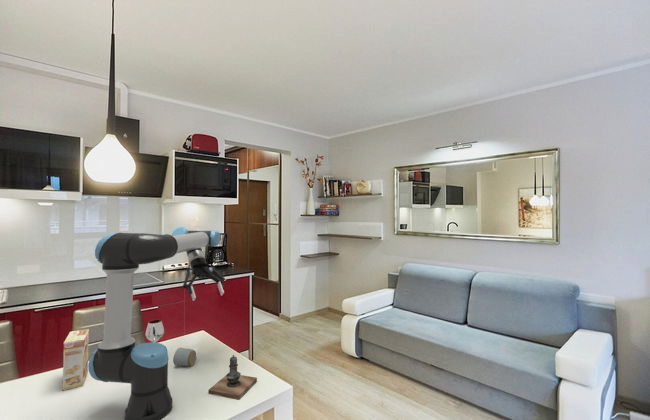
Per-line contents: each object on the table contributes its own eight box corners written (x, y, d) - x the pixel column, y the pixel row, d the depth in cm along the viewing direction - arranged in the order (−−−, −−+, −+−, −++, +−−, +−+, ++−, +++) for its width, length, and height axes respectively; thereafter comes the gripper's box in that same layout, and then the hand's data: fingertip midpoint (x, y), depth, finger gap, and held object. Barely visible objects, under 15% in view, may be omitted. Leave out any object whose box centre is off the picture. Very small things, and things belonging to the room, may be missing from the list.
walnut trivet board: (239, 399, 121) (239, 395, 121) (208, 393, 125) (208, 389, 125) (256, 381, 134) (256, 377, 134) (228, 376, 138) (228, 372, 138)
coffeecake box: (83, 386, 130) (84, 339, 130) (61, 391, 126) (62, 343, 127) (88, 371, 143) (89, 328, 143) (69, 375, 139) (69, 331, 140)
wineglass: (158, 361, 152) (158, 324, 152) (141, 361, 152) (142, 324, 152) (166, 354, 160) (167, 318, 161) (151, 354, 160) (151, 318, 161)
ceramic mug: (189, 369, 145) (189, 352, 145) (172, 368, 146) (172, 351, 146) (200, 359, 155) (200, 343, 156) (184, 358, 156) (185, 342, 156)
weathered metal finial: (243, 383, 130) (243, 354, 130) (230, 389, 125) (230, 359, 126) (235, 378, 134) (235, 350, 134) (223, 383, 129) (223, 354, 130)
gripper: (218, 263, 170) (231, 296, 159) (169, 268, 154) (179, 306, 143) (223, 254, 167) (235, 287, 155) (173, 259, 150) (183, 296, 139)
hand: (209, 296), depth 149 cm, fingers open, 13 cm apart
